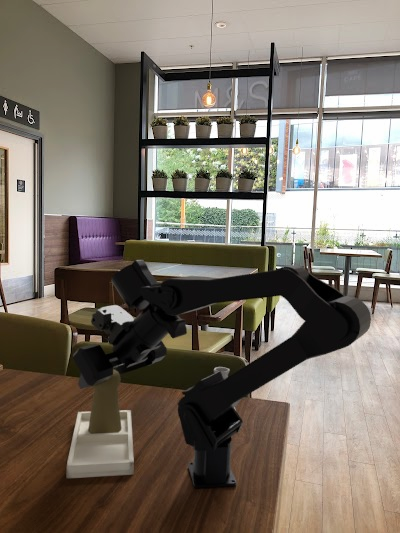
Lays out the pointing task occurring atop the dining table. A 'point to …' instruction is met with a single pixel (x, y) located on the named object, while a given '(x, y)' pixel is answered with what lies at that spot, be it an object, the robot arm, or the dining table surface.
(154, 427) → the dining table surface
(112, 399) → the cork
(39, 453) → the dining table surface
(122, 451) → the tray
